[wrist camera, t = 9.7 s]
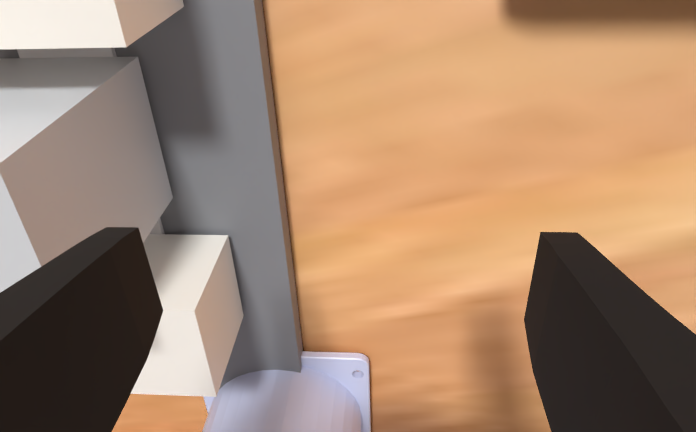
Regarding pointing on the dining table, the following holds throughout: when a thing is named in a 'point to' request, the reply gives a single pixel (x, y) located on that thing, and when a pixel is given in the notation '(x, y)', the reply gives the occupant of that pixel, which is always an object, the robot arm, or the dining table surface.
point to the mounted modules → (162, 249)
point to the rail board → (222, 160)
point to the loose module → (74, 157)
